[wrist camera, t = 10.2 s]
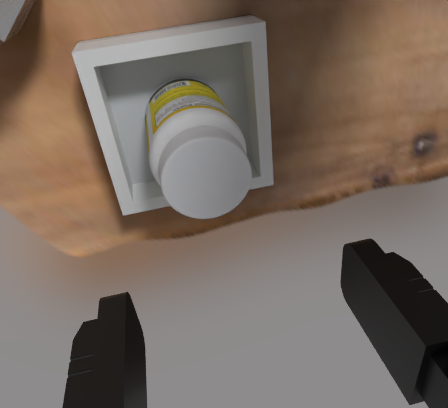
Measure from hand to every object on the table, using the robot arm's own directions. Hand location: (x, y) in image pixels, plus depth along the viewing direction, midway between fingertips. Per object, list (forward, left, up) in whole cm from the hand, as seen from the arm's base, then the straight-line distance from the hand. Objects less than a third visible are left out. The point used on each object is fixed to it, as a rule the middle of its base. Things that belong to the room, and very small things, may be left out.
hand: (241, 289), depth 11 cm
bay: (0, 0, -16) cm, 16 cm away
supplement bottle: (0, 0, -15) cm, 15 cm away
